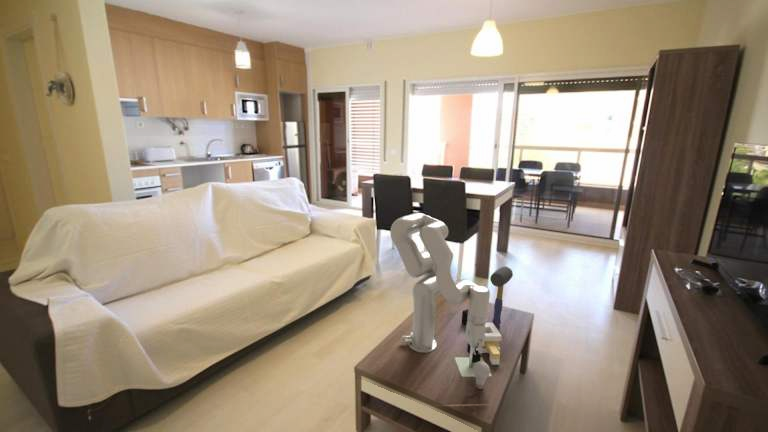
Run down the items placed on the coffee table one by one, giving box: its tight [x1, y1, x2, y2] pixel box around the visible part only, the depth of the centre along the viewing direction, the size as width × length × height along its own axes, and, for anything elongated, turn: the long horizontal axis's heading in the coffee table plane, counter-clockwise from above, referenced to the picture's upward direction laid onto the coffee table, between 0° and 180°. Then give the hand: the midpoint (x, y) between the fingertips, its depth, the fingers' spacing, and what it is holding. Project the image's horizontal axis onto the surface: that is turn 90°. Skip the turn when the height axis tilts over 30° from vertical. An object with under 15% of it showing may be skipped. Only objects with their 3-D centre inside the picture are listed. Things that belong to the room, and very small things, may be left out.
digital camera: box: [461, 308, 468, 327], centre depth 178 cm, size 10×5×7 cm, turn 122°
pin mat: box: [454, 356, 492, 378], centre depth 145 cm, size 12×12×1 cm
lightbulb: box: [473, 361, 491, 390], centre depth 132 cm, size 6×6×11 cm
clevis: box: [482, 321, 503, 366], centre depth 154 cm, size 10×19×8 cm, turn 3°
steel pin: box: [469, 345, 478, 369], centre depth 143 cm, size 4×4×14 cm
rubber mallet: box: [489, 266, 514, 327], centre depth 173 cm, size 12×8×30 cm, turn 141°
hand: (473, 356), depth 143 cm, fingers open, 5 cm apart
